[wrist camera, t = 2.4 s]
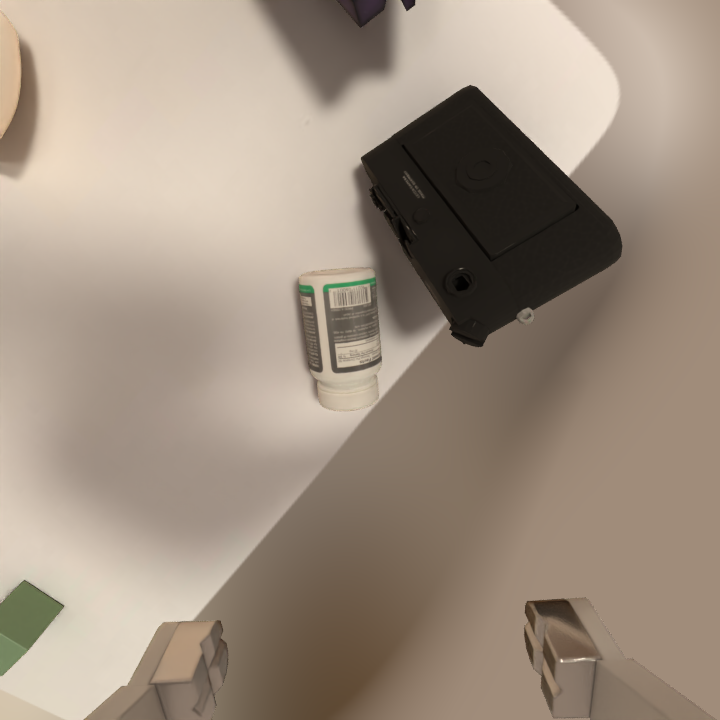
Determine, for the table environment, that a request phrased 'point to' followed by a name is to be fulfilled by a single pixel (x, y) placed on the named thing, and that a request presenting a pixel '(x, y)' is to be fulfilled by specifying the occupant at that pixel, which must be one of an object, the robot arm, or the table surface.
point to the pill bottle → (342, 335)
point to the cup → (8, 72)
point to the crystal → (367, 9)
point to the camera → (486, 215)
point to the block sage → (23, 622)
